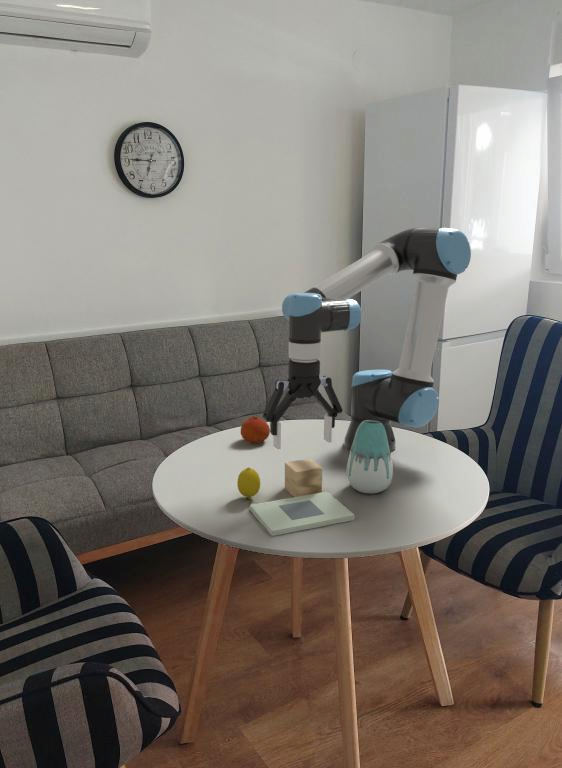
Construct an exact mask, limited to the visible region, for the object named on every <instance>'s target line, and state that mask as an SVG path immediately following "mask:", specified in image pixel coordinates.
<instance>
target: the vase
mask: <svg viewBox="0 0 562 768" xmlns="http://www.w3.org/2000/svg"><path fill="white" fill-rule="evenodd" d="M393 476H394V464H393V458H392V455H391V452H390V449H389V445H388V440H387V434H386V430H385V427H384V425H383V424H382V423H381V422H379V421H373V420H364V421H362V422H361V424H360V425H359V427H358V429H357V431H356V434H355V438H354V441H353V444H352V447H351V450H349V455H348V458H347V463H346V479H347V481H348V483H349V484H350V486H351V487H352V488H353V489H354V490H355V491H358V492H359V493H362V494H379V493H382V492H384V491H385V490H386V489H388V487H389V486H390V484H392V481H393Z"/></svg>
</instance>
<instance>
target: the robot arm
mask: <svg viewBox="0 0 562 768" xmlns="http://www.w3.org/2000/svg"><path fill="white" fill-rule="evenodd" d="M471 249H472V248H471V245H470V241H469V240H468V237H467V235H465V233H464V232H462V231H461V230H459V229H457V228H450V227H449V228H448V227H412V228H408V229H407V228H406V229H405V230H402V231H399V232H398V233H395V234H393V235H391V236H389V237H388V238H386V239H384V240H382V241H381V242H379V243H377V244H376V245H374V247H373V249H372V251H371V252H369V253H368V254H366V255H364V256H363V257H361V258H360V259H358V260H356V261H355V262H352V263H351V264H349V265H348V266H346V267H344V268H342V269H341V270H339V271H338V272H336V273H334V274H333V275H331V276H329V277H328V278H326V279H324V280H323V281H321V282H319V283H318V284H315V286H313V287H310V288H309V289H308V290H306V291H304V292H296V293H291V294H288V295H287V296H285V297H284V299H283V301H282V304H281V313H282V315H283V316H284V318H285V319H286V320H287V321H288V358H289V360H287V361H288V364H287V365H288V367H287V369H288V372H287V373H288V378H287V381H284V380H283V381H281V380H280V379H276V381H275V384H274V389H273V393H272V394H271V396H270V399H269V401H268V403H267V405H266V407H265V409H264V411H263V414H262V418H263V420H264V421H267V422H269V428H270V434H271V435H272V436H273V442H272V443H273V447H274V448H276V449H277V450H281V448H282V447H281V445H282V444H281V442H282V441H281V439H282V438H281V436H282V434H281V433H282V423H281V422H280V419H281V418H282V416H283V415H284V414H285V413H286V411H287V410H288V409H289V408H290V407H291V405H292V404H293V402H295V401H296V400H297V398H298V399H304V398H308V399H309V398H312V397H314V398H315V400H316V401H317V402H318V403H319V404H320V406H321V407H322V408H323V409H324V411H325V412H326V414H324V417H323V418H324V419H323V422H324V423H323V427H324V428H323V440H324V441H326V442H327V443H328V444H329V443H332V436H333V435H332V434H333V430H332V429H334V428H335V426H336V418H337V417H338V414H341V413H342V412H343V408H342V405H341V403H340V401H339V399H338V397H337V396H338V395H336V392H335V390H334V388H333V382H332V378H331V377H329V376H327V375H323V376H322V377H320V375H321V373H320V372H321V367H320V366H321V361H320V360H319V359H320V358H321V341H322V339H321V337H322V333H329V332H339V331H344V332H345V331H347V330H351V329H355V328H357V327H358V326H359V324H360V323H361V320H362V308H361V306H360V304H359V303H358V301H356V300H355V299H353V298H352V297H354V296H355V295H357V294H358V293H360V292H361V291H362V290H364V289H366V288H367V287H370V286H371V285H372V284H375V282H378V281H379V280H381V279H383V278H384V277H385V276H394V275H395V274H397V273H399V272H402V271H403V272H404V271H413V272H412V277H413V278H414V279H415V280H416V285H415V290H414V294H413V299H412V304H411V309H410V314H409V317H408V322H407V327H406V332H405V336H404V342H403V345H402V351H401V357H400V360H399V365H398V367H397V369H395V370H393V371H392V370H389V369H368V370H359V371H357V372H355V373H354V374H353V375H352V380H351V385H350V386H351V393H350V394H351V395H350V396H351V397H350V401H351V403H350V405H351V406H350V423H349V425H348V427H347V430H346V433H345V436H344V440H343V441H344V443H343V444H344V445H343V446H344V447H345V448H346V449H347V450H349V451H350V450H351V447H352V444H353V441H354V438H355V434H356V431H357V429H358V427H359V425H360V424H361V422H362V421H364V420H373V421H379V422H381V423H382V424H383V425H384V427H385V430H386V434H387V440H388V445H389V449H390V453H392V452H393V451H394V450H395V449H396V442H397V441H396V437H395V434H394V430H393V427H392V423H391V422H394V423H397V424H400V425H401V426H404V427H405V426H406V427H411V428H415V429H416V428H422V427H424V426H426V425H428V423H429V422H430V421H432V419H433V418H434V416H435V415H436V413H437V411H438V407H439V403H440V398H439V394H438V392H437V390H435V389H434V388H433V387H434V383H435V380H434V379H433V377H432V376H431V370H432V366H433V362H434V357H435V352H436V346H437V343H438V340H439V339H438V338H439V334H440V329H441V325H442V324H441V323H442V319H443V316H444V311H445V306H446V301H447V297H448V293H449V288H450V287H451V286H453V285H454V284H455V283H457V277H458V275H460V274H462V273H464V272H466V269H468V268H469V265H470V261H471V254H472V253H471V252H472V250H471ZM320 386H323V388H324V391H325V393H326V395H327V397H328V400H329V401H330V404H331V405H330V404H329V403H328V400H327V399H325V398H324V397H323V395H322V393H321V392H320V391H319V390H318V389H319V387H320ZM286 388H288V390H287V392H286V393H285V396H284V398H282V396H283V393H284V391H286ZM281 399H282V400H281ZM280 400H281V401H280Z"/></svg>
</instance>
